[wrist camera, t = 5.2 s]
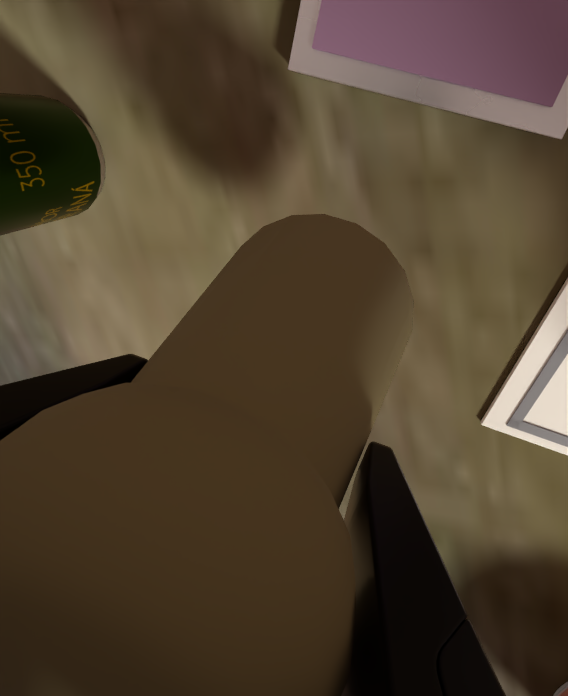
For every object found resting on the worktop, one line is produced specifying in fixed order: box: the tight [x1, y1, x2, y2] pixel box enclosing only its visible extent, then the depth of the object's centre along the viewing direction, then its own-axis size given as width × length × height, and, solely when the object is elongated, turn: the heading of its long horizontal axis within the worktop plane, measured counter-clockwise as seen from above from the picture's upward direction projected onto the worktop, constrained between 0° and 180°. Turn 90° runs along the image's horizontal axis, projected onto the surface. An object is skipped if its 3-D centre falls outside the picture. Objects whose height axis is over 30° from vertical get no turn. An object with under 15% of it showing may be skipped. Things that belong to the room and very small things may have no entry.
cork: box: [0, 214, 414, 696], centre depth 9 cm, size 6×6×11 cm
